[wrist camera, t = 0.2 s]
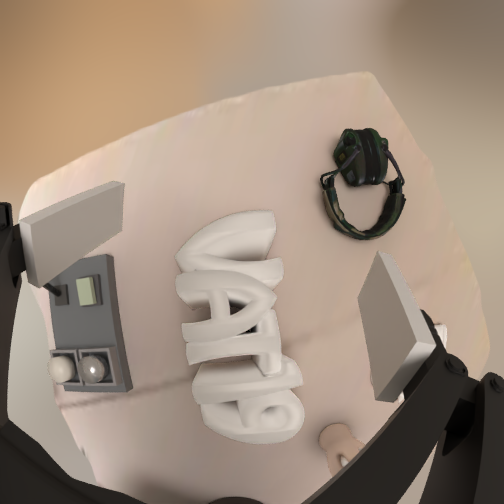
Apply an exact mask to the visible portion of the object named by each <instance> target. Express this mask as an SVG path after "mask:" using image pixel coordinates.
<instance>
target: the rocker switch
mask: <svg viewBox="0 0 504 504" xmlns="http://www.w3.org/2000/svg"><path fill="white" fill-rule="evenodd" d="M76 283H77V290H78V296H79V301H80V306H81V305H89V304H95V303H97V302H96V296H95V290H94V284H93V278H92V277H88V278H82V279H76Z"/></svg>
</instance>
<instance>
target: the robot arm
mask: <svg viewBox="0 0 504 504" xmlns="http://www.w3.org/2000/svg"><path fill="white" fill-rule="evenodd" d="M124 185H125V183H121V182H117V181H111V182H109V183H106V184H103V185H100V186H98V187H95V188H93V189H90V190H87V191H85V192H82V193H80V194H77V195H75V196H73V197H70V198H68V199H65V200H63V201H61V202H58V203H56V204H54V205H51V206H49V207H47V208H45V209H42V210H40V211H38V212H36V213H34V214H31V215H29V216H27V217H25V218H23V219H21V220H19V224H17V225H15V226H13V218H12V206H11V204H10V203H7V202H0V504H146V503H144V502H142V501H139V500H137V499H135V498H132V497H130V496H128V495H126V494H124V493H121V492H117V491H113V490H109V489H106V488H102V487H98V486H95V485H92V484H88V483H85V482H82V481H79V480H76V479H74V478H72V477H70V476H69V475H68V474H67V473H66V472H65V471H64V470H63V469H62V468H61V467H60V466H59V465H58V464H57V463H56V462H55V461H54V460H53V459H52V458H51V456H50V455H49V454H48V453H47V452H46V451H45V450H44V449H43V447H42V446H41V445H40V444H39V443H38V442H37V441H35V440H34V439H33V438H31V437H30V436H29V435H28V434H26V433H25V432H24V431H22V430H21V429H20V428H19V427H18V426H16V425H15V424H14V423H13V422H12V421H10V420H9V418H8V413H7V389H8V370H9V358H10V347H11V339H12V332H13V325H14V319H15V313H16V307H17V302H18V297H19V293H20V288H21V284H22V278H21V273H22V272H23V271H25V270H26V273H27V278H28V282H29V283H30V284H32V285H34V286H36V287H37V288H39V289H40V288H41V287H42V286H44V285H45V284H46V283H48V282H49V281H50V280H52V279H53V278H54V277H56V276H57V275H58V274H60V273H61V272H62V271H64V270H65V269H67V268H68V267H69V266H71V265H72V264H74V263H75V262H76V261H78V260H79V259H81V258H82V257H84V256H85V255H86V254H88V253H89V252H91V251H92V250H94V249H95V248H97V247H98V246H100V245H101V244H103V243H104V242H106V241H107V240H109V239H110V238H112V237H113V236H115V235H116V234H118V233H119V232H121V231H122V217H123V199H124ZM358 303H359V308H360V313H361V317H362V323H363V328H364V333H365V338H366V344H367V349H368V355H369V361H370V368H371V374H372V381H373V388H374V395H375V400H378V401H385V402H393V403H394V402H395V400H396V399H397V398H398V397H399V395H400V394H401V393H402V392H403V395H404V399H405V401H404V402H403V403H402V404H401V405H400V406H399V408H398V409H397V410H396V411H395V412H394V413H393V414H392V415H391V416H390V418H389V420H388V421H387V422H386V423H385V424H384V426H383V427H382V428H381V429H380V430H379V431H378V432H377V433H376V435H375V436H374V437H373V438H372V439H371V440H370V441H369V442H368V443H367V444H366V445H365V446H364V447H363V448H362V449H361V451H360V452H359V453H358V454H357V455H356V456H355V457H354V458H353V459H352V460H351V461H350V462H349V463H347V464H346V465H345V466H344V467H343V468H342V469H341V470H340V471H339V472H338V473H337V474H336V475H335V476H334V477H332V478H331V479H330V480H329V481H328V482H327V483H326V484H325V485H323V486H322V487H321V488H320V489H319V490H318V491H316V492H315V493H314V494H313V495H311V496H310V497H309V498H308V499H307V500H305V501H304V502H303V503H301V504H397V503H398V501H399V500H400V499H401V497H402V496H403V495H404V493H405V492H406V490H407V489H408V488H409V486H410V485H411V483H412V482H413V480H414V479H415V477H416V476H417V474H418V473H419V471H420V470H421V468H422V467H423V465H424V464H425V462H426V460H427V459H428V457H429V455H430V454H431V452H432V450H433V449H434V447H435V445H436V443H437V441H438V443H437V447H436V451H435V455H434V459H433V462H432V466H431V469H430V472H429V476H428V479H427V482H426V485H425V488H424V491H423V494H422V497H421V499H420V502H419V504H504V379H503V378H502V377H501V376H498V375H497V374H495V373H492V372H488V373H487V374H486V375H485V376H484V377H483V378H482V379H481V381H477V380H475V379H473V378H470V377H468V370H467V367H466V366H465V365H464V363H463V362H462V361H461V360H460V359H459V358H457V357H456V356H454V355H452V354H448V353H447V352H446V349H445V347H444V345H443V343H442V341H441V338H440V336H439V335H438V332H437V330H436V328H435V326H434V324H433V322H432V320H431V318H430V317H429V316H428V315H427V314H426V312H425V311H424V310H421V309H420V308H419V306H418V304H417V302H416V300H415V298H414V296H413V294H412V292H411V290H410V288H409V286H408V284H407V282H406V281H405V279H404V277H403V275H402V273H401V271H400V269H399V267H398V266H397V264H396V262H395V260H394V258H393V256H392V255H390V254H387V253H384V252H381V251H377V254H376V256H375V259H374V261H373V264H372V266H371V268H370V271H369V273H368V275H367V278H366V280H365V282H364V285H363V287H362V289H361V291H360V294H359V296H358ZM209 504H262V503H260V502H258V501H255V500H252V499H248V498H240V497H229V498H222V499H218V500H215V501H213V502H211V503H209Z"/></svg>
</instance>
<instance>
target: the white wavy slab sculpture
mask: <svg viewBox="0 0 504 504" xmlns="http://www.w3.org/2000/svg"><path fill="white" fill-rule="evenodd" d="M275 233H276V223H275V218H274V214H273V211H272V210H252V211H244V212H239V213H235V214H232V215H228V216H226V217H223V218H220V219H218V220H216V221H214V222H212V223H210V224H209V225H207V226H205V227H204V228H202V229H201V230H200V231H198V232H197V233H196V234H194V235H193V236H192V237H191V238H190V239H189V240H188V241H187V242H186V243H185V244H184V245H183V246H182V247H181V249H180V250H179V251H178V252H177V254H176V255H175V256H174V257H175V259H176V261H177V263H178V265H179V268H180V270H181V272H182V274H179V275H177V276H176V281H175V287H176V291H177V294H178V296H179V297H180V298H181V299H182V300H183V301H184V302H185V303H186V304H187V305H188V306H189V307H190V308H191V309H192V310H195V309H199V308H207V307H210V308H211V319H209V320H205V321H201V322H195V323H182V335H183V338H184V341H186V342H189V343H187V344H186V356H187V360H188V363H189V365H192V364H195V363H199V362H203V361H207V360H212V359H217V358H223V357H231V356H241V355H252V359H250V360H243V361H235V362H224V363H201V365H200V368H199V370H198V372H197V374H196V376H195V378H194V380H193V383H192V394H193V397H194V399H195V401H196V403H197V404H198V405H199V404H200V406H201V413H202V418H203V421H204V424H205V426H207V427H208V428H210V429H211V430H213V431H215V432H216V433H218V434H220V435H222V436H225V437H227V438H230V439H233V440H236V441H240V442H244V443H251V444H276V443H281V442H284V441H287V440H288V439H290V438H292V437H293V436H294V435H296V434H297V433H298V431H299V430H300V429H301V427H302V425H303V423H304V419H305V411H304V407H303V405H302V403H301V401H300V400H299V399H298V397H297V396H296V395H295V394H294V393H293V392H292V391H291V390H290V389H291V388H294V387H298V386H301V385H303V378H302V374H301V371H300V369H299V367H298V365H297V364H296V362H295V361H294V360H293V359H291V358H289V357H287V356H285V355H283V354H282V352H281V339H280V331H279V326H278V321H277V317H276V313H275V310H272V309H271V308H272V306H273V305H274V303H275V301H276V299H277V296H276V295H275V294H274V292H273V290H274V288H275V287H276V286H277V285H278V284H279V282H280V281H281V280H282V279H283V275H284V268H283V263H282V260H281V257H278V258H274V259H269V260H265V259H266V256H267V254H268V251H269V249H270V246H271V243H272V241H273V238H274V236H275ZM230 307H233V308H237V309H240V310H241V311H239V312H237V313H235V314H233V315H230ZM249 329H251V332H249V333H243V332H245V331H247V330H249Z"/></svg>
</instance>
